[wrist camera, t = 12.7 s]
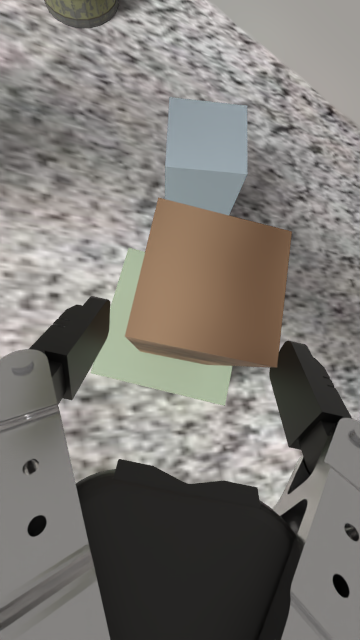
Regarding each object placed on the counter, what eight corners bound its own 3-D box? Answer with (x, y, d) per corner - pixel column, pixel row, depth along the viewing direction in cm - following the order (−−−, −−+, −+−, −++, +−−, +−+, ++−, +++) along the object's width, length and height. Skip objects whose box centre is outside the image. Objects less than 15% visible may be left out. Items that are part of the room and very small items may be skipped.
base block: (107, 370, 22) (90, 373, 17) (136, 271, 24) (128, 247, 19) (214, 396, 22) (228, 406, 17) (235, 296, 24) (253, 279, 19)
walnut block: (140, 351, 17) (124, 336, 7) (154, 287, 18) (158, 197, 8) (206, 365, 17) (276, 367, 8) (217, 301, 18) (291, 231, 9)
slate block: (164, 245, 24) (165, 166, 14) (167, 201, 25) (169, 97, 15) (213, 249, 24) (247, 173, 14) (214, 205, 25) (247, 105, 15)
